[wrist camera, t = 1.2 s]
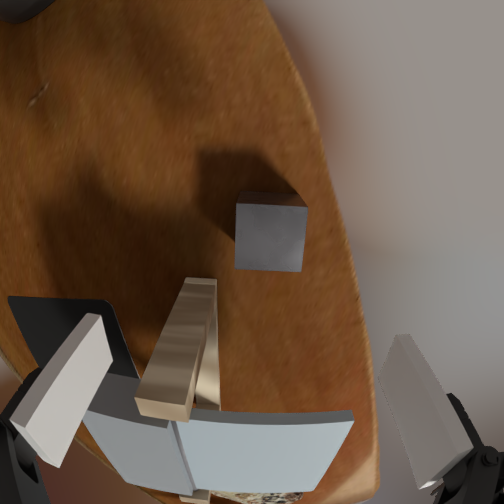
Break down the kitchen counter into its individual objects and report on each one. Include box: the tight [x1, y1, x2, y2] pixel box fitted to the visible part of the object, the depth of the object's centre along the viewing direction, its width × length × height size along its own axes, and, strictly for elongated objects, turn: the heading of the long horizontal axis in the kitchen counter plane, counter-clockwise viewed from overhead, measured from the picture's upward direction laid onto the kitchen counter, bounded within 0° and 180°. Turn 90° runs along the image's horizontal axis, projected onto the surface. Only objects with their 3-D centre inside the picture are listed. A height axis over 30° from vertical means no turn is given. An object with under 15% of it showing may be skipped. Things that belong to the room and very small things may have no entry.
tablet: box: [8, 296, 140, 421], centre depth 35 cm, size 27×1×20 cm
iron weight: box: [235, 191, 308, 272], centre depth 23 cm, size 5×5×5 cm
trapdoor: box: [82, 372, 354, 496], centre depth 20 cm, size 19×16×4 cm
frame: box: [134, 277, 221, 504], centre depth 25 cm, size 20×3×15 cm, turn 178°
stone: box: [211, 490, 303, 504], centre depth 44 cm, size 19×6×25 cm
